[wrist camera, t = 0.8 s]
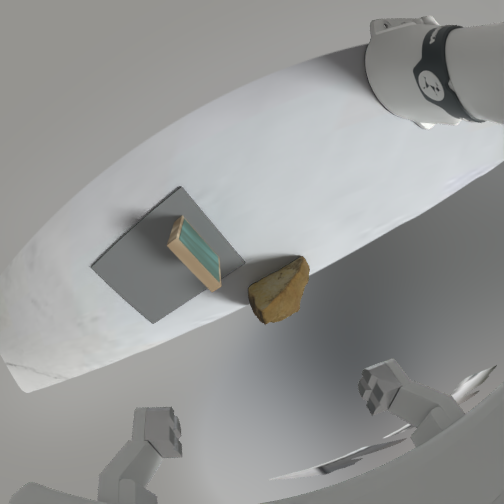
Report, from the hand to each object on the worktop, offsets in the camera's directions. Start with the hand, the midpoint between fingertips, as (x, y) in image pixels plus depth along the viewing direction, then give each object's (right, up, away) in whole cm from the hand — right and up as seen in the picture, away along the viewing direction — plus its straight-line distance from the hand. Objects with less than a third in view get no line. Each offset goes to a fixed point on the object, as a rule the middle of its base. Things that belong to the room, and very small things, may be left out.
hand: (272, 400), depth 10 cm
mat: (-14, +4, +28) cm, 31 cm away
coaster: (-8, +8, +26) cm, 29 cm away
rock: (+3, +2, +32) cm, 32 cm away
